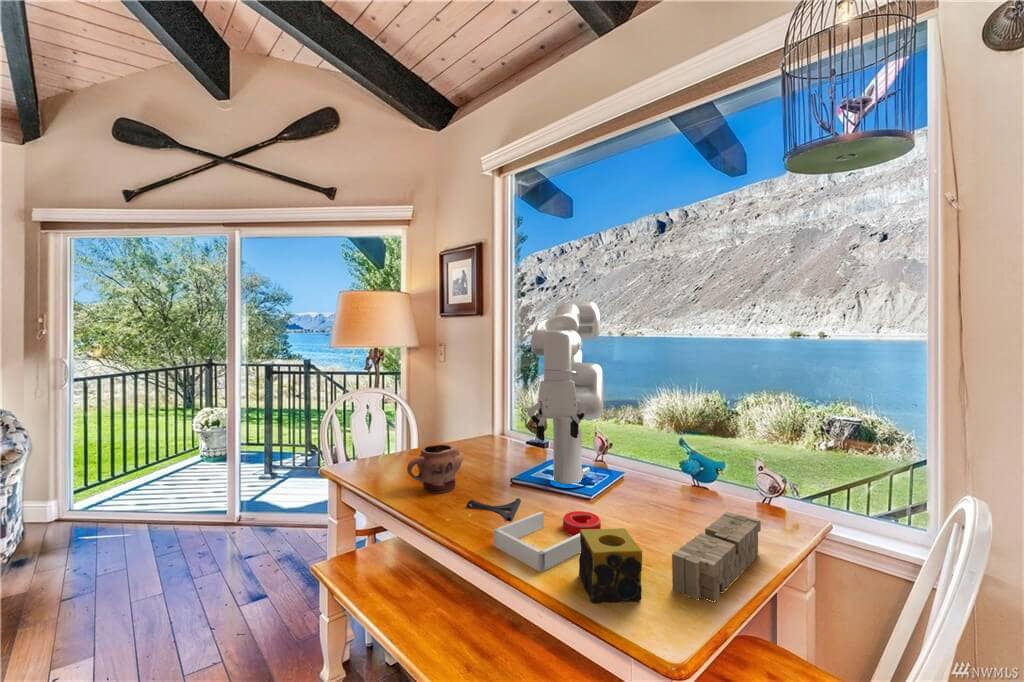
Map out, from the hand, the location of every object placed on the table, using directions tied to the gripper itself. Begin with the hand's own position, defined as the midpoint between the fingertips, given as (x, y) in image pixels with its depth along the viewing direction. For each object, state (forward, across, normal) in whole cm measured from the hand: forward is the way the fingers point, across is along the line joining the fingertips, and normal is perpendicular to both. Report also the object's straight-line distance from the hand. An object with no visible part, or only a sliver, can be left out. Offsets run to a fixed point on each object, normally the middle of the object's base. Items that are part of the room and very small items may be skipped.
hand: (557, 438), depth 123 cm
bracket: (+23, +16, -12) cm, 30 cm away
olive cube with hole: (+22, +3, +34) cm, 41 cm away
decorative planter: (+22, +29, -32) cm, 49 cm away
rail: (+22, +10, +14) cm, 28 cm away
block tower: (+23, -23, +35) cm, 47 cm away
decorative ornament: (+23, -4, +8) cm, 24 cm away
